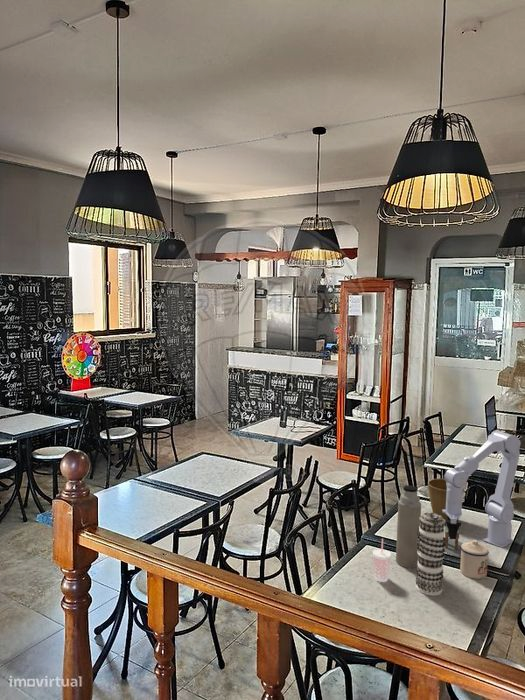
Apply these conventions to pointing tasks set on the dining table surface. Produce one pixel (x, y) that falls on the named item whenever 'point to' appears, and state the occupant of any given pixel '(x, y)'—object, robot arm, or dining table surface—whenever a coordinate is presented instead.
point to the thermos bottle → (408, 527)
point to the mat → (453, 548)
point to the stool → (448, 536)
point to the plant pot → (438, 496)
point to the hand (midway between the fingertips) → (452, 534)
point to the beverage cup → (381, 564)
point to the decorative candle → (430, 554)
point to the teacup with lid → (474, 559)
